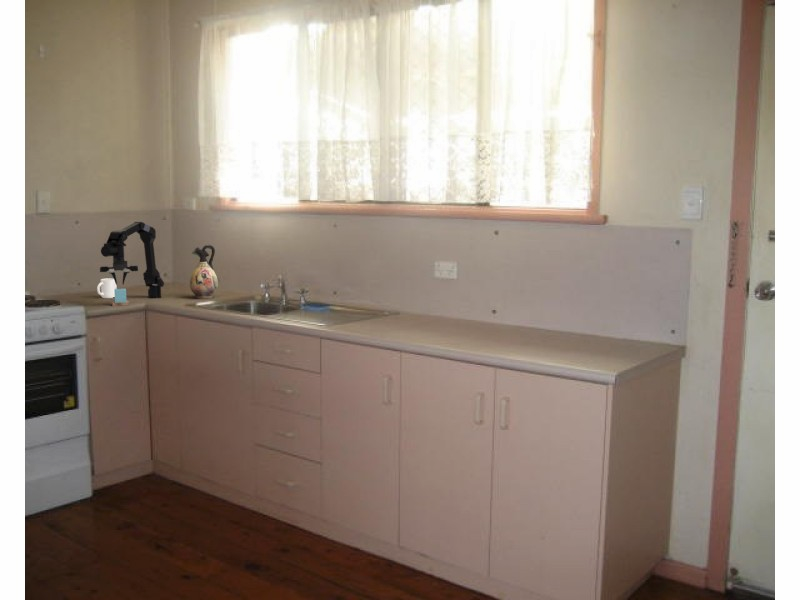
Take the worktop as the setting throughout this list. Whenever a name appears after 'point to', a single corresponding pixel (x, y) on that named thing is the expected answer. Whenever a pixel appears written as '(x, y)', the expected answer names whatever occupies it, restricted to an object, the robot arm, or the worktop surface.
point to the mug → (107, 288)
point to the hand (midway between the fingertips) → (119, 284)
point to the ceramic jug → (204, 275)
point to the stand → (121, 303)
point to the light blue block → (120, 295)
